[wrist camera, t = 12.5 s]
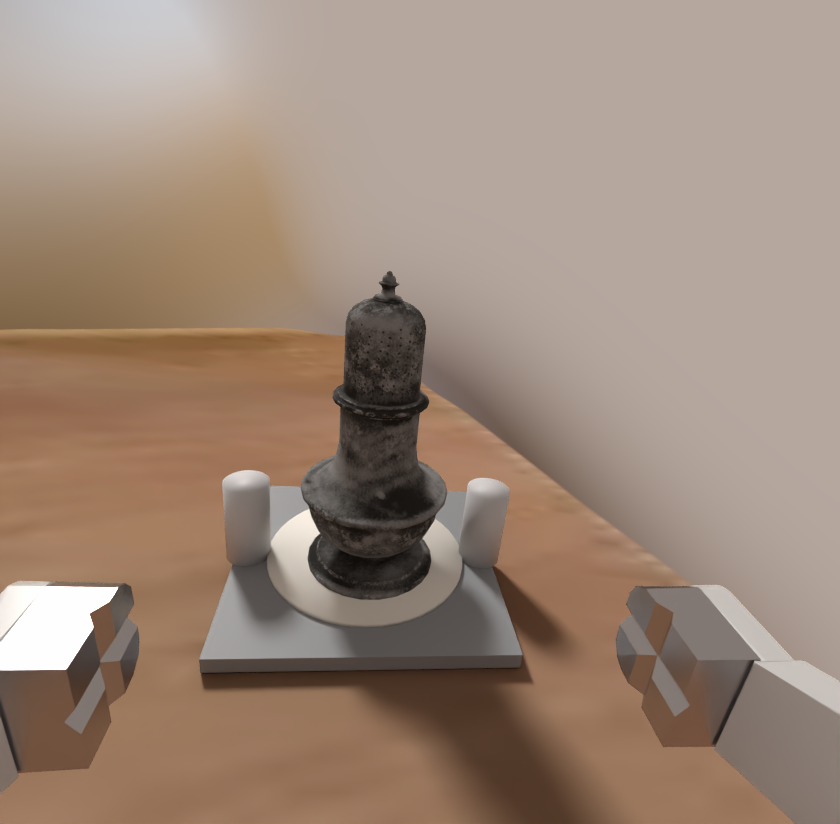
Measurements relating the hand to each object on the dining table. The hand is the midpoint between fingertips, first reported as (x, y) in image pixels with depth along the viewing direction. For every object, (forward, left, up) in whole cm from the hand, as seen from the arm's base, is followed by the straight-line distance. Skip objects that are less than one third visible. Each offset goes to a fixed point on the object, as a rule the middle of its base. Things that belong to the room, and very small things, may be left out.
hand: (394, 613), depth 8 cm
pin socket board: (0, +12, -9) cm, 15 cm away
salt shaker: (0, +12, -8) cm, 14 cm away
